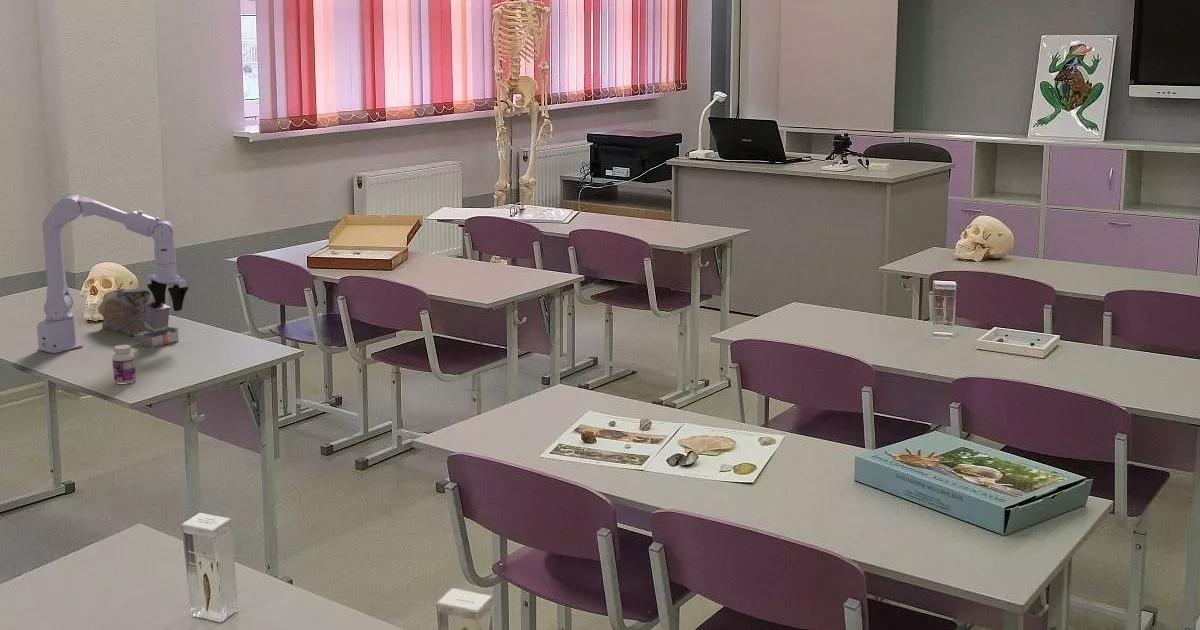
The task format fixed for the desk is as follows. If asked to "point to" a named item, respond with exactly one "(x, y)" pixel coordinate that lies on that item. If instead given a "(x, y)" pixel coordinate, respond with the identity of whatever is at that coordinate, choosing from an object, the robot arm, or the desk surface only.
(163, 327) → the grey rectangular block
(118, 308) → the fossil rock
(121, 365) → the pill bottle
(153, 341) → the stand block
